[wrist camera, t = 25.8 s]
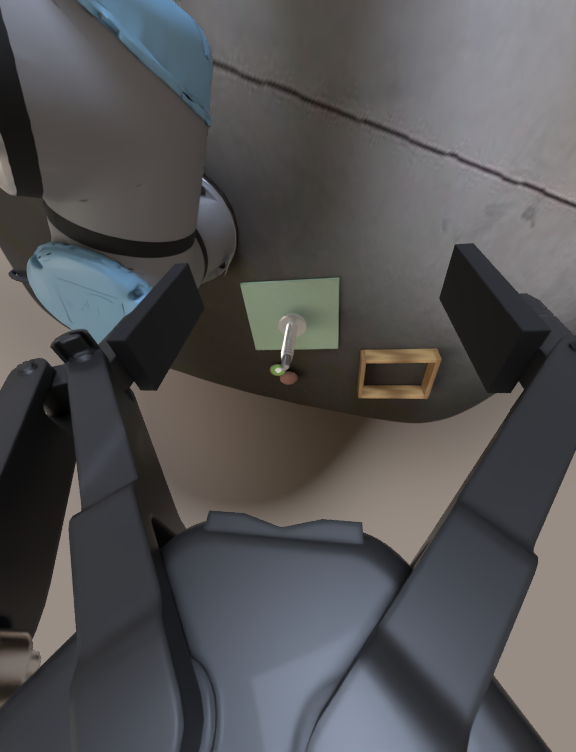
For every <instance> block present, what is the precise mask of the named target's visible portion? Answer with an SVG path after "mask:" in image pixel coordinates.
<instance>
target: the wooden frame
mask: <svg viewBox="0 0 576 752" xmlns="http://www.w3.org/2000/svg"><path fill="white" fill-rule="evenodd" d="M441 360H442V359H441V357H440V354H439V352H438V349H381V350H361V352H360V364H359V375H358V387H357V389H358V398H408V399H423V398H424V399H428V396H429V394H430V391H431V388H432V385H433V382H434V380H435V377H436V374H437V371H438V368H439V366H440V363H441ZM366 363H428V365H427V369H426V372H425V375H424V378H423V381H422V384H421V385H364V376H365V367H366Z"/></svg>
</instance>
